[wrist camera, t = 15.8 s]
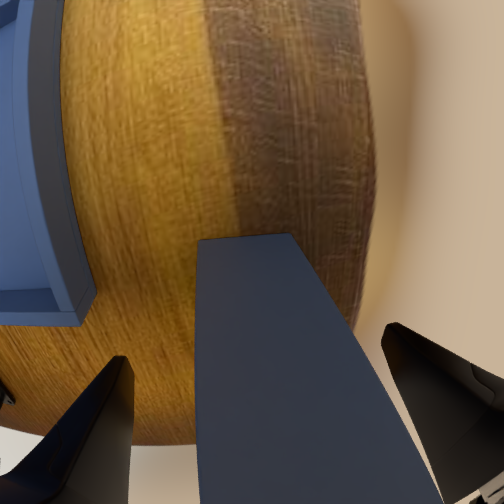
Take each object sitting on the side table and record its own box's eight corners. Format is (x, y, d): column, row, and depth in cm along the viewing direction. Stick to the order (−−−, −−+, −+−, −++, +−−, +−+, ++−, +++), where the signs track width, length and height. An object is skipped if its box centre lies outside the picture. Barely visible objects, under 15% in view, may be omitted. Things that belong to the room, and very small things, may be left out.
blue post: (287, 305, 15) (379, 546, 4) (207, 314, 14) (232, 579, 4) (290, 231, 13) (453, 519, 2) (197, 239, 12) (210, 592, 2)
